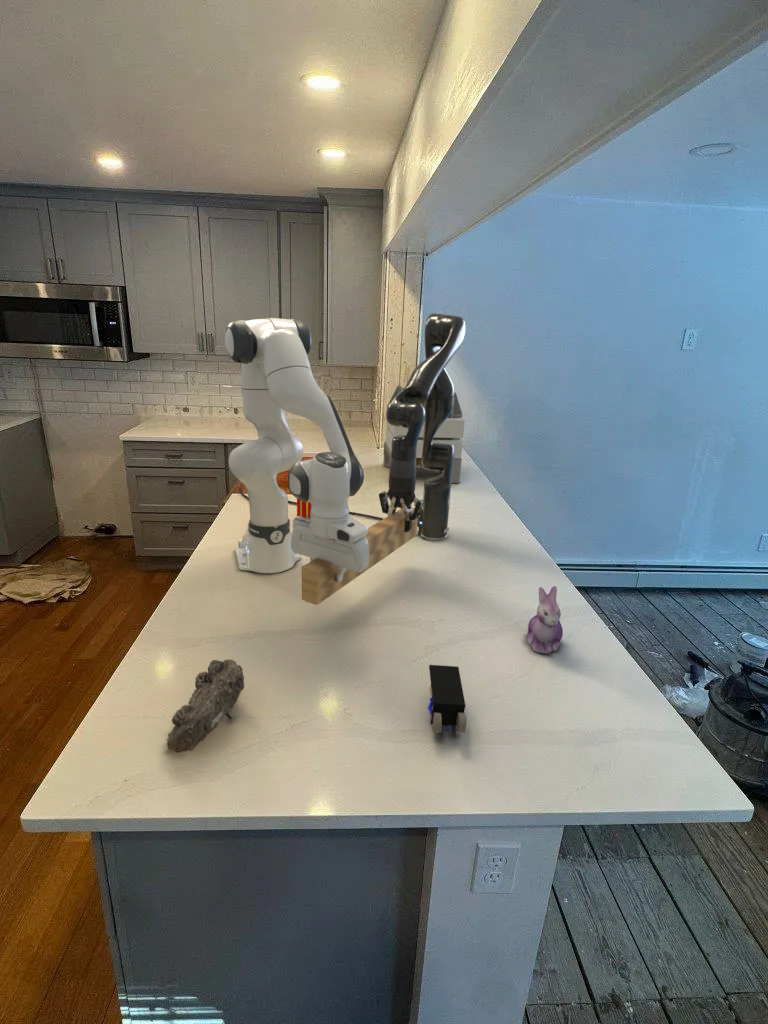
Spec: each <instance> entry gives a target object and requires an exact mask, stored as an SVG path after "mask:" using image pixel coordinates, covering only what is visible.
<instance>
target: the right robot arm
mask: <svg viewBox="0 0 768 1024" xmlns="http://www.w3.org/2000/svg"><path fill="white" fill-rule="evenodd" d="M465 334H466V323H465V319H464V317H461V316H459V315H453V314H447V313H437V312H432V313H430V314H429V315H428V316H427V318H426V320H425V325H424V355H425V356H424V358H425V359H424V360H423V361H421V362H420V363H419V364H418V365H416V366H415V367H414V369H413V370H412V373H411V374H410V376H409V378H408V381H407V383H406V384H405V386H404V387H402V388H403V389H402V390H401V391H400V392H399V393H398V394H397V395H396V397H395V398H394V399H393V400H392V401H391V402H390V404H389V406H388V408H387V407H386V412H385V419H386V418H387V421H388V423H389V424H390V425H392V426H396V427H403V428H408V432H407V434H406V435H398V436H395V437H393V439H392V445H391V460H390V467H388V468H389V469H388V490H387V491H381V492H380V493H378V498H379V503H380V509H381V513H383V514H386V515H387V517H388V516H390V515H391V514H393V513H395V512H396V511H397V509H398V508H399V509H403V513H404V514H405V518H406V520H405V529H404V532H406V533H407V532H409V531H410V530H411V528H412V520H415V519H416V518H418V524H417V535H418V536H420V538H421V539H424V540H426V541H432V542H440V541H444V540H446V539H447V538H448V531H450V527H448V525H449V517H450V516H449V514H450V504H451V494H452V493H451V491H452V483H451V479H452V470H453V464H454V456H455V449H454V446H453V445H452V444H444V443H433V442H432V440H433V438H434V435H435V434H436V432H437V430H438V429H439V427H440V426H441V425H442V424H443V422H444V421H445V420H446V419H447V418H448V416H449V415H450V413H451V412H452V410H453V404H454V392H455V386H454V383H453V381H452V379H451V376H450V375H449V373H448V372H447V370H446V367H447V365H448V364H449V363H450V361H451V360H452V358H453V357H454V355H455V354H456V352H457V351H458V350H459V348H460V347H461V345H462V343H463V342H464V341H463V340H464V338H465ZM420 403H424V407H423V406H422V405H421V404H420ZM423 424H424V434H423V445H422V457H421V461H422V466H421V467H422V468H423V469H424V470H426V471H427V470H428V471H437V472H440V471H443V473H442V474H441V473H440V474H439V475H437V476H433V477H429V478H427V479H425V480H424V482H423V493H422V496H423V497H422V499H419V498H417V497H416V494H415V493H416V492H415V491H416V481H417V466H416V452H417V442H418V439H419V435H420V432H421V429H422V426H423ZM389 501H390V502H389ZM389 503H390V504H389ZM413 503H414V504H413ZM288 504H292V505H296V506H297V501H291V500H288ZM412 504H413V505H412ZM413 506H414V508H415V509H414V512H413V513H412V508H413ZM349 515H355V516H360V517H365V518H370V519H375V520H379V521H381V520H383V519H384V517H380V516H376V515H370V514H365V513H359V512H355V511H349Z"/></svg>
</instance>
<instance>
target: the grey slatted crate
mask: <svg viewBox="0 0 768 1024" xmlns="http://www.w3.org/2000/svg"><path fill="white" fill-rule="evenodd" d="M403 388H404V387H402V385H399V384H398V385H397V386H396V388H395V390H394V392H393V394H392V395H391V398H390V400H389V402H388V404H387V405H386V409H387V408H388V406H389V404H390V402H391V401H392V400H393V399H394V398H395V397H396V395H397V394H398V393H399V392H400V391H401V390H402V389H403ZM420 404H421V405H422V406H423V407H424V403H420ZM385 423H386V428H385V438H384V442H383V466H384V467H388V468H389V467H390V460H391V445H392V439H393V437H395V436H398V435H406V434H407V432H408V428H403V427H396V426H392V425H390V424H389V423H388V421H387V418H386V417H385ZM464 429H465V419H464V418H463V411H462V408H461V405H460V402H459V398H458V395H457V392H455V391H454V404H453V410H452V412H451V413H450V415H449V416H448V418H447V419H446V420H445V421H444V422H443V424H442V425H441V426H440V427H439V429H438V430H437V432H436V434H435V435H434V438H433V440H432V442H433V443H444V444H452V445H453V446H454V449H455V456H454V464H453V470H452V479H451V484H455V483H456V484H459V483H461V472H462V461H463V460H462V453H463V442H464V441H463V440H462V439H463V438H464V431H465V430H464ZM423 434H424V424H423V426H422V429H421V432H420V435H419V439H418V442H417V452H416V467H417V466H418V467H423V466H422V461H421V457H422V445H423ZM439 473H440V475H441V474H442V473H443V471H439Z"/></svg>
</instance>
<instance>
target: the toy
mask: <svg viewBox="0 0 768 1024" xmlns="http://www.w3.org/2000/svg"><path fill="white" fill-rule="evenodd" d="M296 502H297V505H296V517H298V516H303V517H305V518H310V511H311V503H310V502H303V501H301V500H299V499H297V498H296Z"/></svg>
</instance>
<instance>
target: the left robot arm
mask: <svg viewBox="0 0 768 1024" xmlns="http://www.w3.org/2000/svg"><path fill="white" fill-rule="evenodd" d="M312 341H313V340H312V334H311V330H310V328H309V326H308V325H307V323H306V322H305V321H303V320H300V319H296V318H290V319H288V318H279V317H266V318H253V319H248V320H247V319H246V320H244V319H238V320H233V321H231V322H230V323H229V324H228V325H227V327H226V329H225V335H224V347H225V350H226V352H227V355H228V357H229V358H230V359H231V360H232V361H233V362H234V363H238V364H241V368H240V369H241V371H240V383H241V396H242V406H243V415H244V417H245V419H246V420H247V421H249V423H251V424H253V426H254V428H255V429H256V432H257V435H258V437H257V439H253V440H250V441H246V442H243V443H241V444H240V445H238V446H236V447H235V448H234V449H232V450H231V451H230V454H229V456H228V467H229V470H230V473H231V474H232V475H233V476H234V478H236V480H238V481H240V482H241V483H242V484H243V486H244V488H245V490H246V493H247V495H246V494H244V493H243V489H242V487H239V488H238V490H239V493H240V495H241V496H243V497H244V498H245V499H247V500H248V503H249V520H248V523H247V524H248V525H247V527H248V528H247V531H246V532H245V533H244V534H242V536H241V537H242V540H239V541H238V542H237V547H235V551H234V552H235V555H236V559H237V563H238V567H239V568H238V569H240V571H247V572H248V571H249V572H250V571H251V572H254V573H257V574H258V573H259V574H277V573H281V572H285V571H288V570H290V569H292V568H293V567H294V566H295V563H296V562H298V561H300V559H301V556H304V557H307V558H309V562H311V561H312V560H314V559H316V558H318V559H321V560H325V561H328V562H332V564H333V565H336V566H338V570H340V571H339V572H338V573H336V574H334V581H336V582H339V583H340V582H341V581H342V580H343V574H344V572H345V571H346V570H347V569H349V570H352V571H355V572H361V571H362V570H364V569H365V568H366V567H367V566H368V565H369V544H368V541H367V539H366V538H365V537H364V536H366V535H367V533H368V528H369V527H367V526H366V525H364V524H363V523H361V522H360V521H358V520H357V519H355V518H354V517H353V516H352V515H351V514H349V512H350V509H349V505H348V504H349V498H350V497H353V496H355V495H356V494H357V493H358V492H359V491H360V489H361V488H362V486H363V484H364V480H365V473H364V470H363V466H362V464H361V463H360V461H359V459H358V457H357V456H356V454H355V451H354V450H353V448H352V445H351V442H350V440H349V438H348V435H347V433H346V430H345V427H344V425H343V422H342V420H341V418H340V415H339V412H338V410H337V408H336V405H335V404H334V401H333V399H332V397H330V395H328V394H327V393H325V392H323V390H322V389H321V388H320V386H319V385H318V383H317V382H316V380H315V378H314V375H313V371H312V366H311V364H310V360H309V356H308V355H309V354H310V352H311V350H312V345H313V344H312ZM286 412H287V413H290V414H292V415H296V416H299V417H301V418H305V419H307V420H310V421H311V422H313V423H315V424H316V425H317V426H318V427H319V428H320V430H321V431H322V434H323V436H324V439H325V442H326V444H327V446H328V449H329V451H323V452H319V453H316V454H315V455H314V456H313V458H311V459H304V460H303V457H304V447H303V444H302V442H301V440H300V439H299V438H298V437H297V436H296V435H294V433H293V432H292V430H291V428H290V425H289V422H288V420H287V416H286ZM287 471H288V474H287V485H288V492H289V493H290V494H291V495H292V496H294V498H296V500H297V499H299V500H301V501H303V502H310V503H311V511H310V518H305V517H303V516H298V517H297V516H296V517H295V518H294V519H293V520H292V531H291V520H290V518H289V503H288V501H289V497H288V494H287V492H286V491H285V490H283V489H282V488H281V487H280V486H279V484H278V481H277V475H279V474H282V473H284V472H287Z"/></svg>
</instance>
